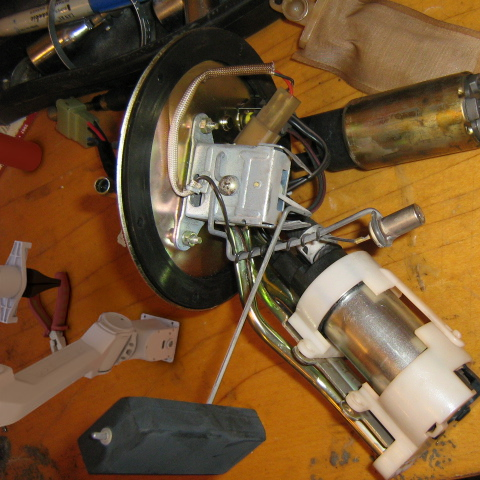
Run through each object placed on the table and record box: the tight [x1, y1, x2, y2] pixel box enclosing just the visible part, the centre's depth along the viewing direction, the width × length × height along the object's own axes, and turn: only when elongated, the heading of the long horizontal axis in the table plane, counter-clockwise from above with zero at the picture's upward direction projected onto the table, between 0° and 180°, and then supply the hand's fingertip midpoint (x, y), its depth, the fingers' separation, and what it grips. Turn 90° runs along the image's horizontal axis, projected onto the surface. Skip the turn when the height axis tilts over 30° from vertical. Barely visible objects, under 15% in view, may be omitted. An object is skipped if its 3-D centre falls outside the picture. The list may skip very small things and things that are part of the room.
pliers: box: [26, 271, 70, 354], centre depth 101 cm, size 12×20×3 cm, turn 20°
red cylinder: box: [0, 132, 43, 172], centre depth 106 cm, size 7×7×11 cm
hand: (57, 282), depth 90 cm, fingers closed
